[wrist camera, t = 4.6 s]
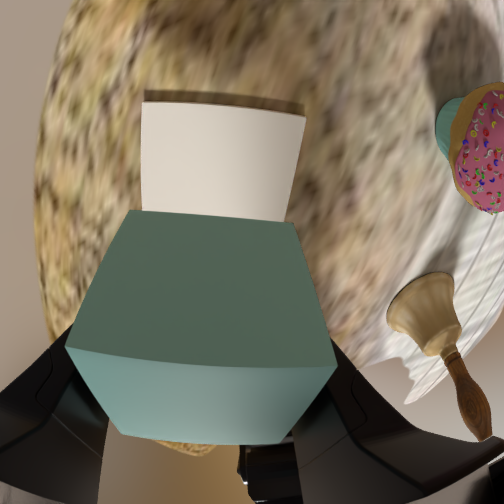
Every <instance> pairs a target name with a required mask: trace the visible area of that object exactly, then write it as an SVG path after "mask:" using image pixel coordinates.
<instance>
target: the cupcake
mask: <svg viewBox="0 0 504 504" xmlns="http://www.w3.org/2000/svg"><path fill="white" fill-rule="evenodd" d="M436 139H437V143H438V146H439V148H440V150H441V151H442V153H443V154H444V155H445V157H446V158H447V160H448V161H449V163H450V166H451V169H452V173H453V178H454V183H455V186H456V188H457V190H458V191H459V193H460V194H461V195H462V196H463V197H464V198H465V199H466V201H467V202H468V203H470V204H471V205H473V206H474V207H477V208H478V209H480V210H481V211H482V210H483V211H485V212H488V213H490V214H491V215H493V214H492V213H497V212H502V211H504V83H503V82H496V83H491V84H487V85H484V86H482V87H479V88H477V89H475V90H474V91H472V92H471V93H469V94H468V95H467V96H466V97H461V98H454V99H452V100H450V101H448V102H447V103H446V104H445V105H444V106H443V107H442V109H441V110H440V112H439V115H438V117H437V121H436Z"/></svg>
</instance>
